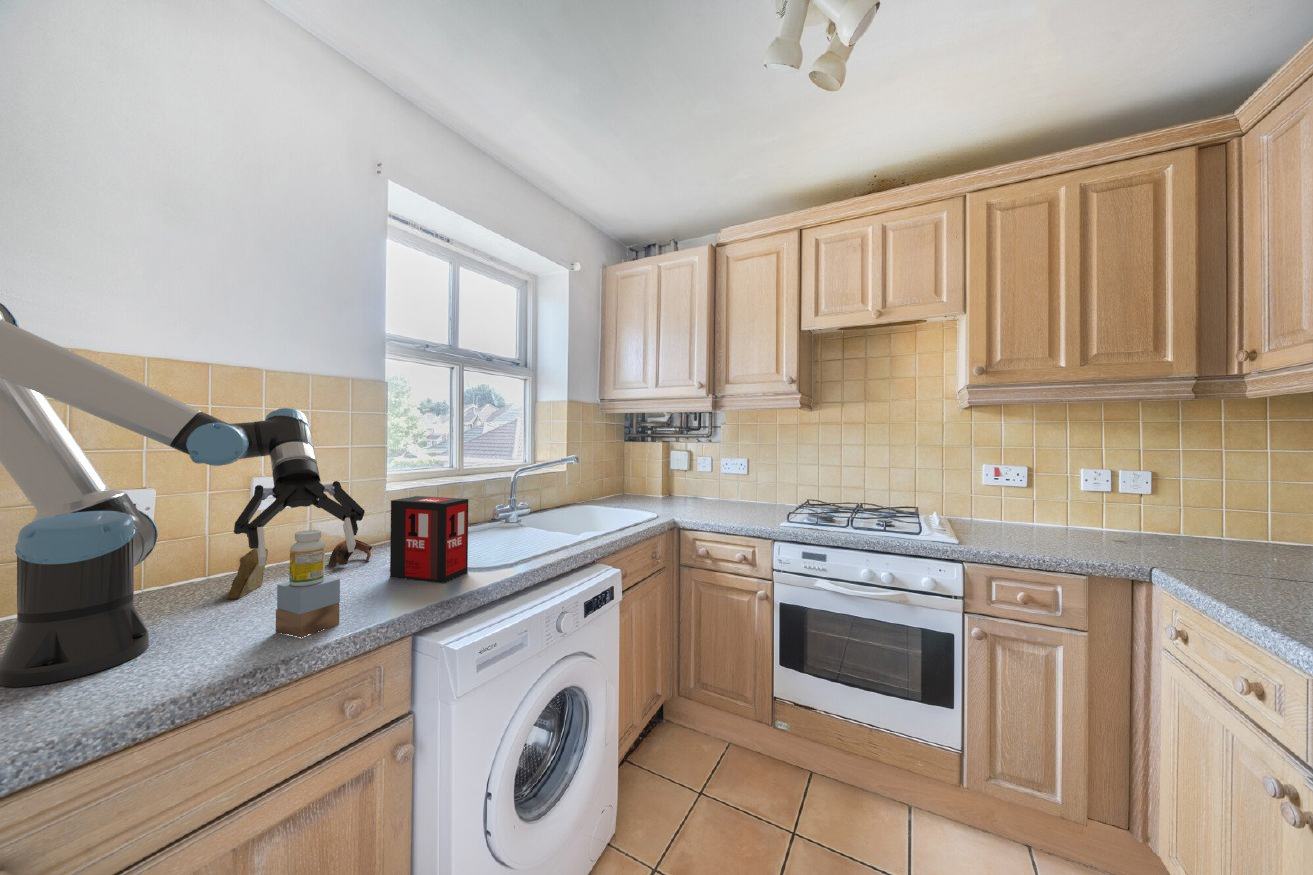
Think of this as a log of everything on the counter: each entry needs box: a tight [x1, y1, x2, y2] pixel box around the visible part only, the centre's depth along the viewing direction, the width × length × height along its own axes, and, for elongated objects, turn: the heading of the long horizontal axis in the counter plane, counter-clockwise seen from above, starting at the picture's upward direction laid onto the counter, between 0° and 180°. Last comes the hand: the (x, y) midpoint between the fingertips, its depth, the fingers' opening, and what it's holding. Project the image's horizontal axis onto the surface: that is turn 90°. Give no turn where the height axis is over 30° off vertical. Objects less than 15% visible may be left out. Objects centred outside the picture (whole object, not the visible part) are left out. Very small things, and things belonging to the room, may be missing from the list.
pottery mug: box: [328, 539, 373, 568], centre depth 130 cm, size 12×10×8 cm
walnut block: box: [275, 602, 340, 638], centre depth 87 cm, size 7×7×4 cm
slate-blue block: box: [276, 575, 341, 615], centre depth 88 cm, size 7×7×4 cm
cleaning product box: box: [389, 495, 469, 584], centre depth 121 cm, size 16×9×20 cm, turn 76°
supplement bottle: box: [288, 529, 326, 586], centre depth 87 cm, size 5×5×10 cm
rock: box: [226, 547, 269, 600], centre depth 106 cm, size 11×9×10 cm
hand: (310, 554), depth 85 cm, fingers open, 13 cm apart
